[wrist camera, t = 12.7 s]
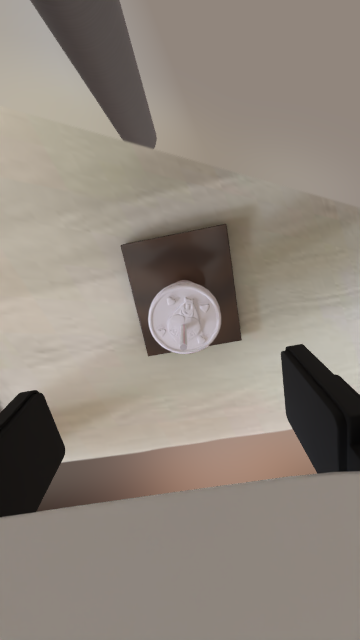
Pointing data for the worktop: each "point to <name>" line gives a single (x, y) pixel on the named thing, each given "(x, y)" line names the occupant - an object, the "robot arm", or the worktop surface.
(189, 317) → the smoothie
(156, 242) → the walnut board
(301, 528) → the robot arm
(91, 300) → the worktop surface
